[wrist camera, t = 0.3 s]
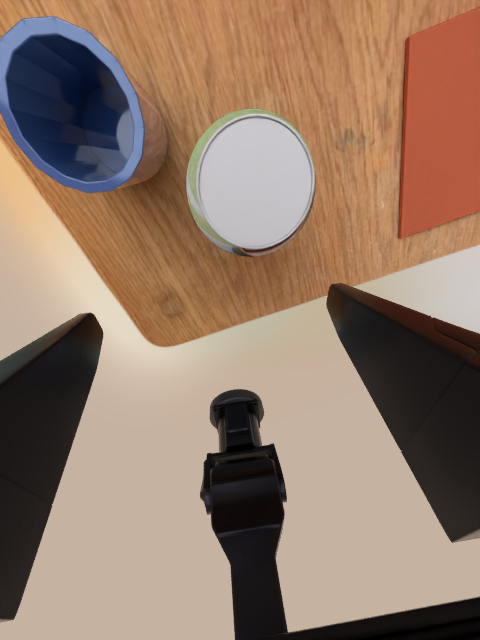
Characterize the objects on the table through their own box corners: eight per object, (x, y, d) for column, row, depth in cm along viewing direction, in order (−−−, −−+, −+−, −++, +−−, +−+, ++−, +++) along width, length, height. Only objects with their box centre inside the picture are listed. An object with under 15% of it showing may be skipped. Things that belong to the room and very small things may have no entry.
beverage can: (215, 244, 22) (221, 308, 12) (180, 152, 19) (146, 139, 8) (280, 219, 22) (341, 266, 12) (258, 120, 18) (321, 64, 8)
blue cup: (176, 178, 19) (158, 186, 13) (99, 186, 19) (40, 198, 12) (155, 73, 16) (117, 10, 9) (62, 81, 16) (-44, 22, 9)
